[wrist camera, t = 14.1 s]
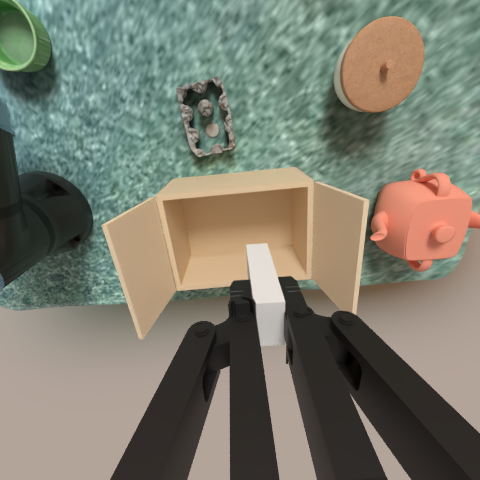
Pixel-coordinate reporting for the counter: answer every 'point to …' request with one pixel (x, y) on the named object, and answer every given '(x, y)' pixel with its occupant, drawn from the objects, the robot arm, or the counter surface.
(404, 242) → the teapot
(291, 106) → the counter surface
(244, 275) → the carton
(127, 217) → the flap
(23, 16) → the ramekin
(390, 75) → the lidded jar
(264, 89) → the counter surface
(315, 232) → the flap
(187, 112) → the egg carton
